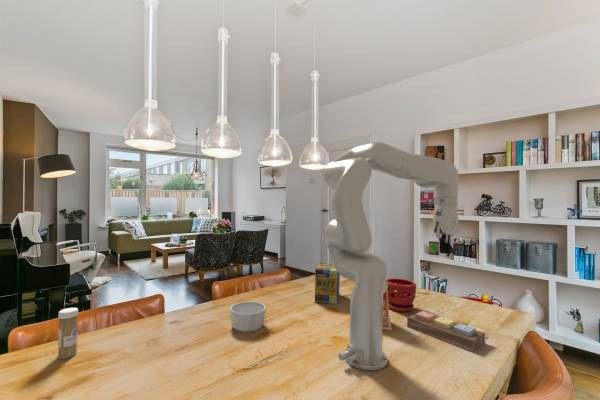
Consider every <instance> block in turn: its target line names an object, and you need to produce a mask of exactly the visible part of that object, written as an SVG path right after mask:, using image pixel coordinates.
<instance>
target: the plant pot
mask: <svg viewBox="0 0 600 400" xmlns="http://www.w3.org/2000/svg"><path fill="white" fill-rule="evenodd" d="M386 281H387V292H388V308H389V309H391V310H394V311H396V312H401V313H402V312H410V311H412V310H413V309H414V308H415V306H414V304H413V303H414V301H415V298H416V293H417V284H416V282H415V281H413V280H409V279H403V278H386Z"/></svg>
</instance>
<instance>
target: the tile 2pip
mask: <svg viewBox="0 0 600 400" xmlns="http://www.w3.org/2000/svg"><path fill="white" fill-rule="evenodd" d="M454 323H455V320H452V319H449V318H446V317H443V316H439V317H438V318H437V319H434V320H433V325H436V326H439V327H442V328H444V329H447V330H449V329H451V328H453V327H454Z"/></svg>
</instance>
